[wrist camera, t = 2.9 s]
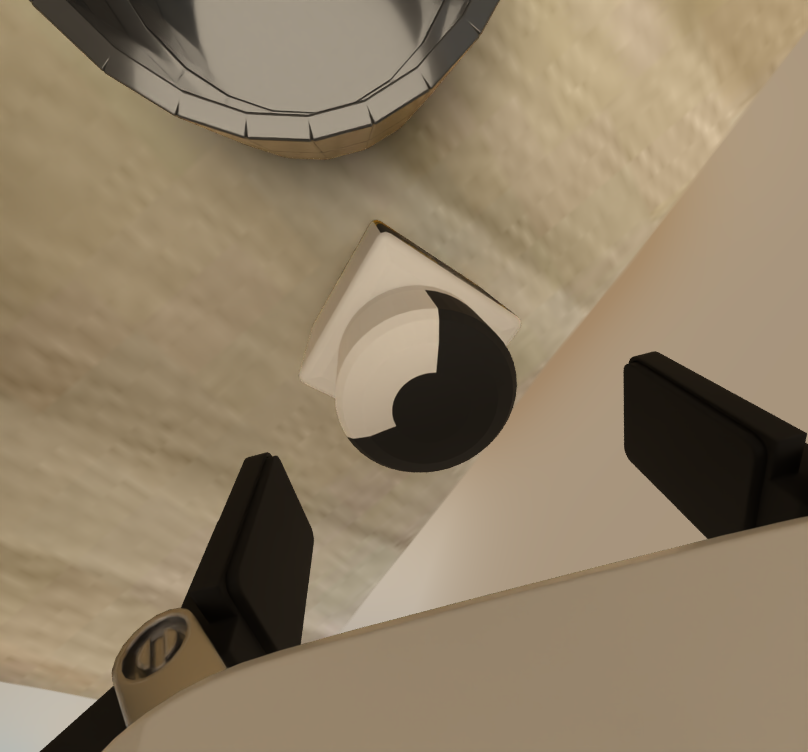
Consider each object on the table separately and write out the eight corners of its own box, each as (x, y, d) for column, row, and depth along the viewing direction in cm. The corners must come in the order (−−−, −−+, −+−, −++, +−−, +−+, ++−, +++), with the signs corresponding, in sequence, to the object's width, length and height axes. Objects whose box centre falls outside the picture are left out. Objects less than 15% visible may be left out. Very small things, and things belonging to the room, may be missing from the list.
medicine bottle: (479, 286, 24) (587, 369, 13) (413, 383, 26) (457, 525, 15) (373, 216, 22) (395, 245, 11) (310, 329, 24) (274, 448, 13)
